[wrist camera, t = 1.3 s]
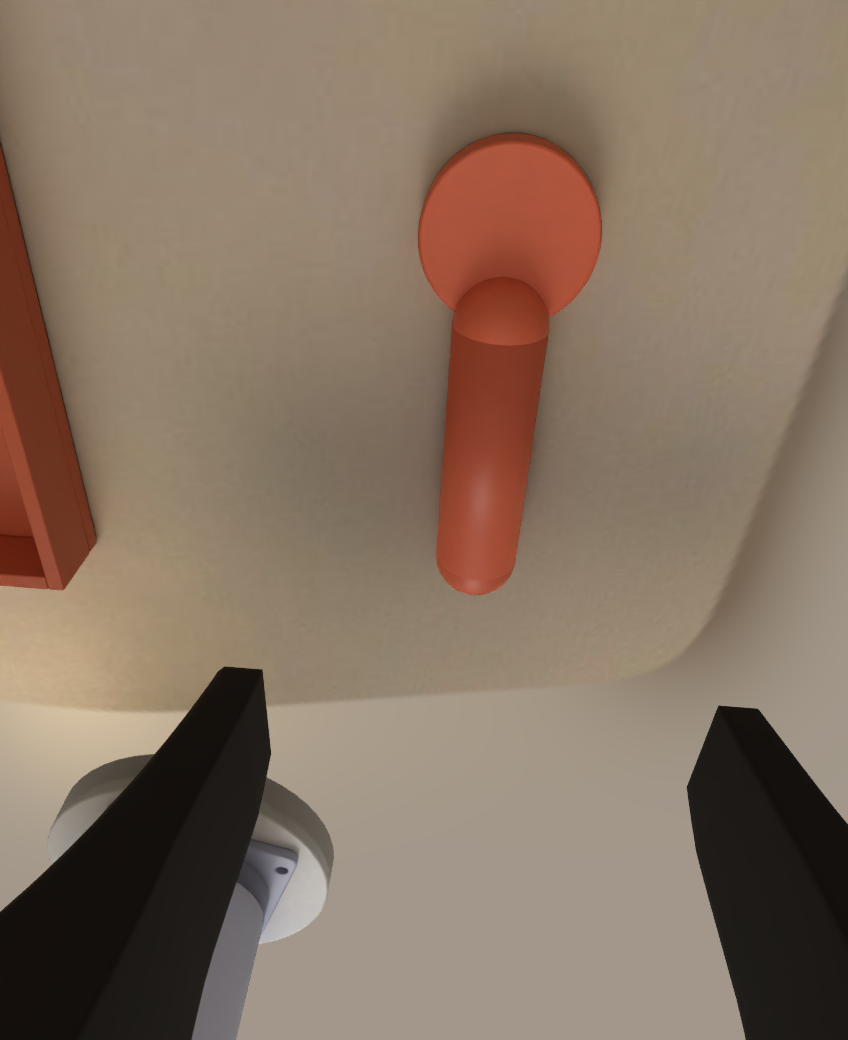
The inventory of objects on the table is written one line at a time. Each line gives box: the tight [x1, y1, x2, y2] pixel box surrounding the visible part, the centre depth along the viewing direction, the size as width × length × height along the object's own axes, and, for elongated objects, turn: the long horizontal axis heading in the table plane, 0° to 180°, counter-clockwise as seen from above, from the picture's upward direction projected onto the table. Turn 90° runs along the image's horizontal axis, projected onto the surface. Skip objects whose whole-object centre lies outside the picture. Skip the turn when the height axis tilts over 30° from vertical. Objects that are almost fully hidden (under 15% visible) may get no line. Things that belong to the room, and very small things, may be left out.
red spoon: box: [418, 133, 602, 595], centre depth 17 cm, size 10×4×2 cm, turn 177°
